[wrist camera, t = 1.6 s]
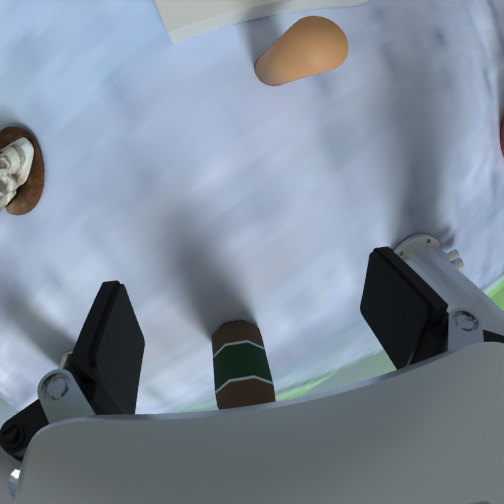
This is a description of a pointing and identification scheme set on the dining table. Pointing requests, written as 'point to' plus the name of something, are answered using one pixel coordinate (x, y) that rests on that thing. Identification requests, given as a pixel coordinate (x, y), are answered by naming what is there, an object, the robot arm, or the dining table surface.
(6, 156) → the skull
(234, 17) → the block
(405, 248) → the robot arm
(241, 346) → the beer bottle
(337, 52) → the peg
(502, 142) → the citrus juicer
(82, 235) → the dining table surface
